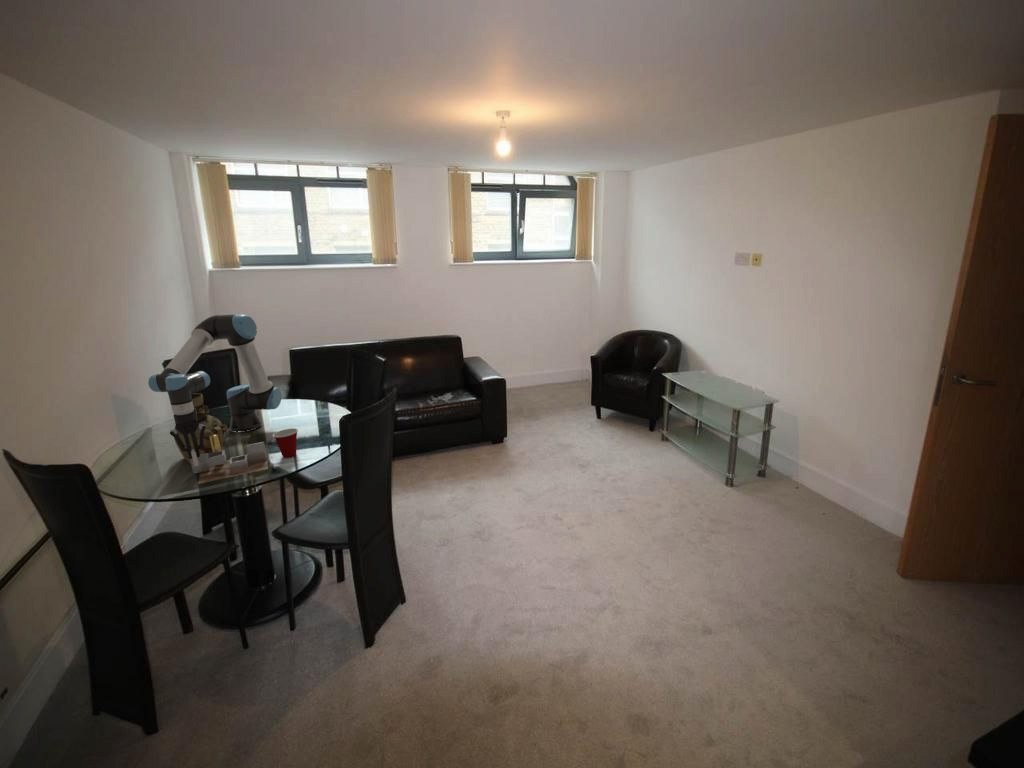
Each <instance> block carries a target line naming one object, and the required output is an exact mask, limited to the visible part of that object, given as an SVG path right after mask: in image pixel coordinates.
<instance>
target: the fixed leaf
mask: <svg viewBox="0 0 1024 768" xmlns="http://www.w3.org/2000/svg"><path fill="white" fill-rule="evenodd" d="M245 448H246V453H247V454H246V453H245V454H241V455H237V456H232V457H229V460H230V467H231V471H236V470H241V469H245V468H249V463H251V462H256V461H260V460H265V459H267V460H268V454H267V455H266V452H267V451H266V446H265V442H264V441H259V442H255V443H251V444H250V443H249V444H246V445H245Z"/></svg>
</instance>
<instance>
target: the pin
mask: <svg viewBox="0 0 1024 768" xmlns="http://www.w3.org/2000/svg"><path fill="white" fill-rule="evenodd" d="M209 438H210V442H211V446H212V451H213V452H215V451H220V450H221V447H220V443H219V438H218V435H217V434H214V435H211V436H209ZM222 465H224V464H220V465H216V466H222Z"/></svg>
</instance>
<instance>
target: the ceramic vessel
mask: <svg viewBox="0 0 1024 768" xmlns="http://www.w3.org/2000/svg"><path fill="white" fill-rule="evenodd" d="M191 396H192V400H193V405H194V411H195V413H196V417H197V420H198V422H199V424H203V425H204V424H205V425H206V428H205V430H204V441H203V448H201V449H199V452H200V454H205V453H210V452H213V451H212V446H211V442H210V438H209V436H211V435H214V434H217V435H218V438H219V443H220V447H221V450H224V446H223V445H224V444H223V442H224V440H225V434H227V435H228V434H229V430H228V425H227V424H222V422H221V420H219V419H218V418H217V417H215V416H213V415H210V414H209V413H210V411H209V406H208V405H204V395H203V394H202V393H199V392H198V393H197V392H195V393H193V394H191ZM200 431H201V430H200V429H199V426H198V428H197V430H196V431H195V434H196V438H197V442H198V445H200ZM177 434H178V435H179V437H180V439H181V440H182V442H183V444H184V445H185V447H186V443H185V439H184V436H183V434H182V433H180V432H179V431H177ZM188 436H189V440H190V445H191V448H192V449H191V450H193V449H194V445H193V441H192V437H191V434H188ZM173 438H174V437H173ZM173 440H174V442H175V445H176V447H177V448H178V450H179V452H180V453H181V455H182V457H183V458H184V459H185V461H186V462H187V463H188V464H190V465H191V461H190V458H189V455H188V452H186V451H184V452H183V451H182V450H181V448H180V447H179V445H178V443H177V442H176V440H175V438H174V439H173ZM186 448H187V447H186Z"/></svg>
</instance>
